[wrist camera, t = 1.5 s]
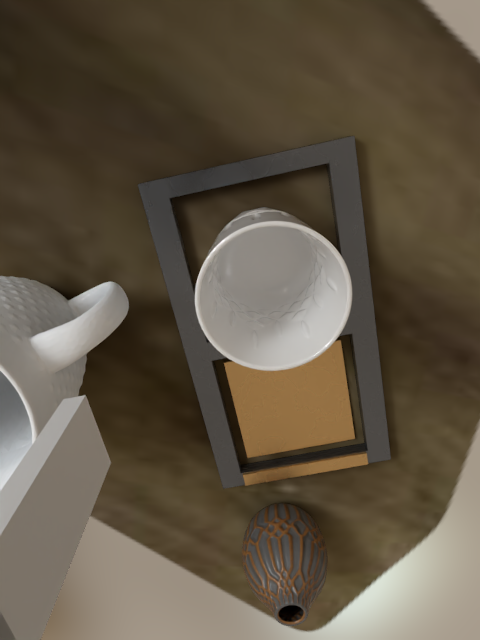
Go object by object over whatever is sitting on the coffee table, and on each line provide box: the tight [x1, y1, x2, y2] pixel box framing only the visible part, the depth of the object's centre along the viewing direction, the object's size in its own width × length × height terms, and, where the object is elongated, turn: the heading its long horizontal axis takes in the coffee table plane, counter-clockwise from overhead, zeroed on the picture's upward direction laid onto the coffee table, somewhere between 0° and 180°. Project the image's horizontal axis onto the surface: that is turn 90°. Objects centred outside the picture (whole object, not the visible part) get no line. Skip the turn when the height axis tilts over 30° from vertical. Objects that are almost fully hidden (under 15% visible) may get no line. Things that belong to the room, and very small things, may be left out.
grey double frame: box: [138, 136, 391, 489], centre depth 34 cm, size 25×14×1 cm, turn 12°
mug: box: [0, 276, 129, 491], centre depth 28 cm, size 15×11×13 cm
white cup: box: [195, 207, 352, 371], centre depth 27 cm, size 8×8×10 cm
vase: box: [242, 503, 328, 626], centre depth 37 cm, size 7×7×9 cm
